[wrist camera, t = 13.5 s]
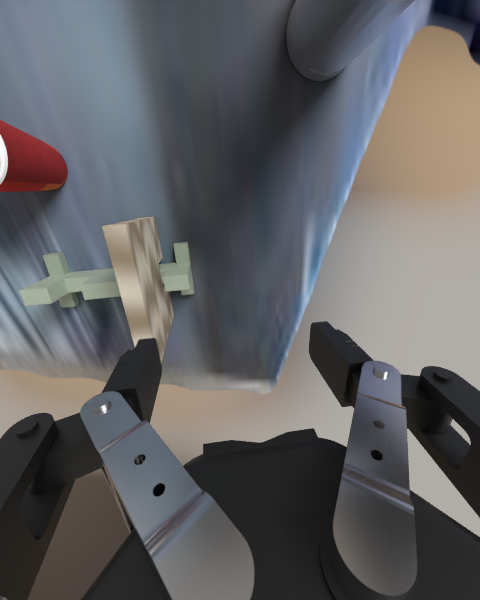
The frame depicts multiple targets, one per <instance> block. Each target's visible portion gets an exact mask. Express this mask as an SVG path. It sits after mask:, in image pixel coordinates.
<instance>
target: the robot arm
mask: <svg viewBox="0 0 480 600" xmlns="http://www.w3.org/2000/svg"><path fill="white" fill-rule="evenodd" d="M414 1H415V0H296V1H295V3H294V5H293V7H292V10H291V12H290V15H289V18H288V23H287V29H286V42H287V49H288V53H289V56H290V59H291V61H292V63H293V65H294V67H295V68H296V69H297V70H298V72H299V73H300V74H302V75H303V76H304V77H305V78H307V79H310V80H312V81H326V80H328V79H331V78H333V77H334V76H336V75H337V74H338V73H340V72H341V71H342V70H343V69H344V68H345V67H346V66H347V65H348V64H349V63H350V62H351V61H352V60H353V59H354V58H355V57H357V56H358V55H359V54H360V53H361V52H362V51H363V50H364V49H365V48H366V47H367V46H368V45H369V44H370V43H371V42H372V41H373V40H374V39H375V38H376V37H377V36H378V35H379V34H380V33H381V32H382V31H384V30H385V29H386V28H387V27H388V26H389V25H390V24H391V23H392V22H393V21H394V20H395V19H396V18H397V17H398V16H399V15H400V14H401V13H402V12H403V11H404V10H405V9H406V8H407V7H408V6H409V5H411V4H412V3H413V2H414ZM309 354H310V357H311V359H312V361H313V363H314V364H315V366H316V367H317V369H318V370H319V372H320V374H321V375H322V377H323V378H324V380H325V381H326V383H327V384H328V386H329V387H330V389H331V390H332V392H333V394H334V395H335V397H336V398H337V400H338V401H339V403H340V404H341V406H342V407H347V406H353V408H354V413H353V418H352V424H351V429H350V435H349V439H348V445H347V447H345V446H343V445H341V444H339V443H337V442H334V441H331V440H328V439H323V438H318V437H317V435H316V432H315V430H314V429H313V428H312V429H305V430H299V431H291V432H287V433H284V434H282V435H279V436H277V437H275V438H272V439H270V440H268V441H265V442H262V443H256V442H246V441H235V440H229V441H222V442H215V443H208V444H203V454H202V455H200V456H198V457H196V458H194V459H192V460H191V461H189V462H188V463H186V464H185V465H184V466H182V465H181V463H180V462H179V461H178V460H177V458H176V457H175V456H174V454H173V453H172V452H171V451H170V450H169V448H168V447H167V446H166V444H165V443H164V442H163V441H162V439H161V438H160V436H159V435H158V434H157V433H156V431H155V430H154V429H153V428H152V426H151V425H150V420H151V416H152V412H153V407H154V403H155V399H156V395H157V391H158V387H159V383H160V379H161V373H162V366H161V360H160V355H159V350H158V345H157V341H156V338H147V339H139V340H138V342H137V345H136V347H135V349H134V350H128V351H127V352H126V353H125V354H124V355H122V356H121V357H120V359H119V361H118V363H117V366H116V367H115V369H114V370H113V373H112V374H111V376H110V378H109V380H108V382H107V384H106V386H105V388H104V390H103V391H102V393H101V394H98V395H96V396H94V397H92V398H91V399H90V400H88V401H87V402H86V403H85V404H84V405H83V407H82V409H81V411H80V413H78V414H75V415H72V416H69V417H66V418H63V419H60V420H58V421H54V419H53V417H52V415H51V414H48V413H39V414H34V415H31V416H29V417H26V418H24V419H22V420H21V421H19V422H17V423H16V424H14V425H13V426H12V427H11V428H9V429H8V431H6V432H5V434H4V435H3V436H2V438H1V439H0V600H27V599H28V597H29V594H30V592H31V589H32V587H33V584H34V582H35V579H36V577H37V574H38V572H39V569H40V567H41V564H42V562H43V559H44V557H45V554H46V552H47V549H48V547H49V544H50V542H51V539H52V537H53V534H54V532H55V529H56V527H57V524H58V522H59V519H60V517H61V514H62V512H63V509H64V506H65V504H66V502H67V499H68V497H69V494H70V492H71V489H72V487H73V484H74V482H75V479H77V478H79V477H82V476H84V475H86V474H88V473H91V472H93V471H95V470H97V469H100V468H101V469H102V472H103V474H104V476H105V478H106V480H107V482H108V484H109V486H110V489H111V491H112V493H113V495H114V497H115V500H116V501H117V504H118V506H119V508H120V511H121V513H122V515H123V518H124V520H125V522H126V525H127V527H128V529H129V531H130V534H129V536H128V537H127V538H126V540H125V541H124V542H123V544H122V545H121V546H120V548H119V549H118V550H117V552H116V553H115V554H114V556H113V557H112V558H111V560H110V561H109V562H108V564H107V565H106V567H105V568H104V569H103V570H102V572H101V573H100V574H99V576H98V577H97V578H96V580H95V581H94V583H93V584H92V585H91V587H90V588H89V589H88V591H87V592H86V593H85V595H84V596H83V597H82V599H81V600H480V537H479V536H477V535H476V534H474V533H473V532H471V531H470V530H468V529H467V528H465V527H464V526H462V525H461V524H459V523H458V522H456V521H455V520H454V519H452V518H451V517H449V516H448V515H446V514H445V513H443V512H442V511H440V510H439V509H437V508H436V507H434V506H433V505H431V504H430V503H429V502H427V501H426V500H424V499H423V498H421V497H420V496H418V495H417V494H415V493H414V492H412V491H411V490H410V487H409V467H408V466H409V465H408V443H407V429H409V430H410V431H411V432H412V434H413V435H414V436H415V437H416V439H417V440H418V441H419V442H420V444H421V445H422V446H423V447H424V449H426V451H427V452H428V454H429V455H430V456H431V457H432V459H433V460H434V461H435V462H436V464H437V465H438V466H439V467H440V468H441V470H442V471H443V472H444V474H445V475H446V476H447V477H448V479H449V480H450V481H451V482H452V483H453V485H454V486H455V487H456V488H457V490H458V491H459V492H460V494H461V495H462V496H463V497H464V499H465V500H466V501H467V502H468V504H469V505H470V506H471V507H472V508H473V510H474V511H475V512H476V514H477V515H478V516H479V517H480V391H479V390H477V389H476V388H475V387H473V386H472V385H471V384H469V383H468V382H467V381H465V380H464V379H463V378H461V377H460V376H459V375H457V374H456V373H454V372H452V371H450V370H447V369H444V368H441V367H435V366H428V367H424V368H423V369H422V371H421V374H420V376H412V375H402V374H400V372H399V371H398V370H397V369H395V367H393V366H391V365H389V364H387V363H384V362H381V361H374V360H373V359H372V358H371V357H369V356H368V355H367V354H366V353H365V352H364V351H363V350H362V349H361V348H360V347H359V346H357V344H356V343H355V342H354V341H353V340H352V339H351V338H350V337H349V336H348V335H347V334H345V333H344V332H342V331H340V330H335V329H334V328H333V327H332V326H331V325H330V324H329V323H328V322H327V321H325V322H315V323H312V324H311V329H310V342H309ZM452 419H454V420H455V421H456V422H457V423H458V424H459V425H460V426H461V427H462V428H463V429H464V430H465V431H466V433H467V434H468V436H469V438H470V441H471V445H469V443H468V442H467V441H465V439H463V438H462V436H461V435H460V434H459V433H458V432H457V431H456V430H455V429H453V427H452V426H451V425H450V424H451V422H452Z"/></svg>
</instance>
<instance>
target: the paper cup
mask: <svg viewBox="0 0 480 600" xmlns="http://www.w3.org/2000/svg"><path fill="white" fill-rule="evenodd" d="M67 174H68V171H67V166H66V163H65V161H64V159H63V157H62V156H61V154H60V153H59V152H58V151H57V150H56V149H54V148H53V147H51V146H50V145H48V144H46V143H44V142H43V141H41V140H39V139H37V138H35V137H33V136H31V135H29V134H27V133H25V132H23V131H21V130H19V129H17V128H15V127H13V126H11V125H9V124H7V123H5V122H3V121H1V120H0V192H13V191H46V190H54V189H58V188H60V187H61V186H62V185H63V184H64V183H65V181H66V179H67Z"/></svg>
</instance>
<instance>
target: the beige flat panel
mask: <svg viewBox="0 0 480 600" xmlns="http://www.w3.org/2000/svg"><path fill="white" fill-rule="evenodd" d="M102 228H103V232H104V235H105V239H106V243H107V247H108V250H109V254H110V258H111V261H112V265H113V269H114V272H115V276H116V280H117V283H118V287H119V291H120V294H121V298H122V302H123V306H124V309H125V313H126V317H127V320H128V324H129V328H130V331H131V335H132V339H133V342H134V346H135V347H136V345H137V342H138V340H139V339H147V338H156V341H157V345H158V350H159V355H160V360H161V363H162V359H163V355H164V351H165V348H166V344H167V340H168V336H169V332H170V328H171V325H172V321H173V317H174V313H173V308H172V303H171V298H170V292H169V291H167V292H165V286H164V283H162V278H161V273H160V268H159V262H160V261H161V260H162V258H163V256H162V251H161V246H160V240H159V235H158V230H157V225H156V219H155V216H154V217H142V218H137V219H132V220H128V221H123V222H119V223H114V224H110V225H105V226H102Z"/></svg>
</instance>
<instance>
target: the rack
mask: <svg viewBox="0 0 480 600" xmlns="http://www.w3.org/2000/svg"><path fill="white" fill-rule="evenodd" d="M173 245H174V251H175V258H176V263H165V264H159V268H160V273H161V278H162V283H164V286H165V292H167V291H177V290H181V295H189V294H194V284H193V277H192V269H191V262H190V255H189V248H188V242H182V243H174V244H173ZM43 258H44V261H45V264H46V267H47V270H48V272H49V275H50V276H49V277H47V278H45V279H43V280H41V281H39V282H37V283H34V284H32V285H30V286H28V287H26V288H24V289H22V290H20V291H19V292H20V294H21V297H22V299H23V302H24V304H25V306H31V305H41V304H51V303H54V302H55V301H57V300H59V303H60V306H61V308H65V307H75V306H76V305H78V304H79V303H80V302H79V299H78V296H77V293H76V292H80V291H82V294H83V297H84V300H89V299H99V298H109V297H119V296H121V294H120V291H119V287H118V283H117V280H116V276H115V272H114V269H113V268H110V269H99V270H88V271H77V272H70V271H69V268H68V265H67V262H66V259H65V256H64V253H63V252H61V253H49V254H46V255H43Z"/></svg>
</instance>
